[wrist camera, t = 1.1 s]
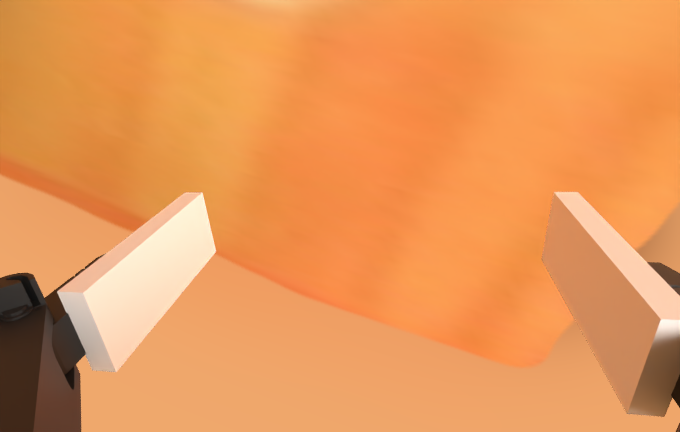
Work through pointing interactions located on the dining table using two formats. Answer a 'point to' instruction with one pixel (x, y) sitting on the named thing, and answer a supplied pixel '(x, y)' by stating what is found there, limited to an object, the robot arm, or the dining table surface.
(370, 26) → the dining table surface
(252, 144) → the dining table surface
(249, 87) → the dining table surface
